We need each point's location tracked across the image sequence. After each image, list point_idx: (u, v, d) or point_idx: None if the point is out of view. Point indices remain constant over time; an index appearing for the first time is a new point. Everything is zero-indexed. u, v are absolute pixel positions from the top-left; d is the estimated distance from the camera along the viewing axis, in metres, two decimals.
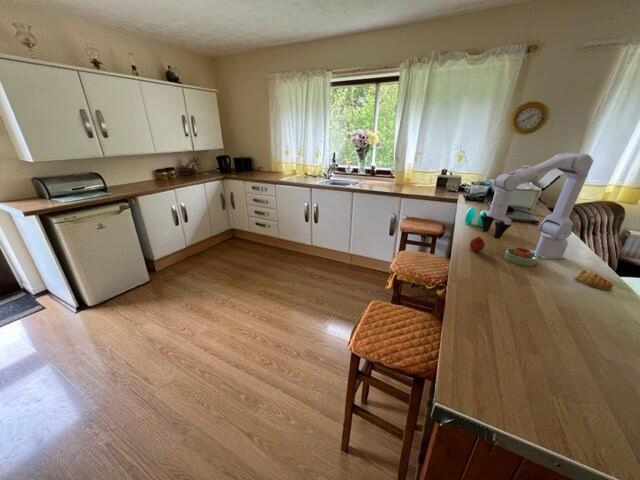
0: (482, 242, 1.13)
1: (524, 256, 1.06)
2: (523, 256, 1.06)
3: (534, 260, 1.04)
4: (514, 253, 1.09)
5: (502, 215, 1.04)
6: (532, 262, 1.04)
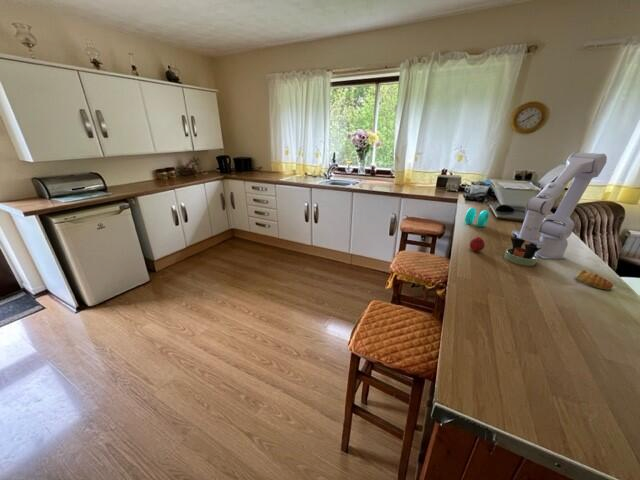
0: (482, 242, 1.13)
1: None
2: (523, 256, 1.06)
3: (534, 260, 1.04)
4: (514, 253, 1.09)
5: (534, 238, 1.03)
6: (532, 262, 1.04)
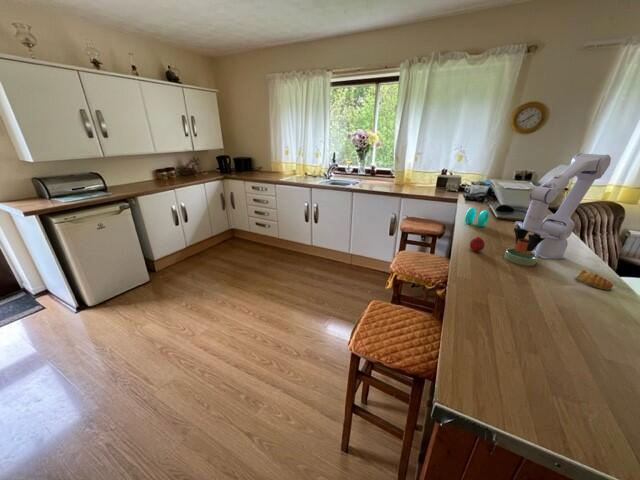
0: (482, 242, 1.13)
1: None
2: (526, 247, 1.04)
3: (534, 260, 1.04)
4: (517, 244, 1.07)
5: (537, 228, 1.01)
6: (532, 262, 1.04)
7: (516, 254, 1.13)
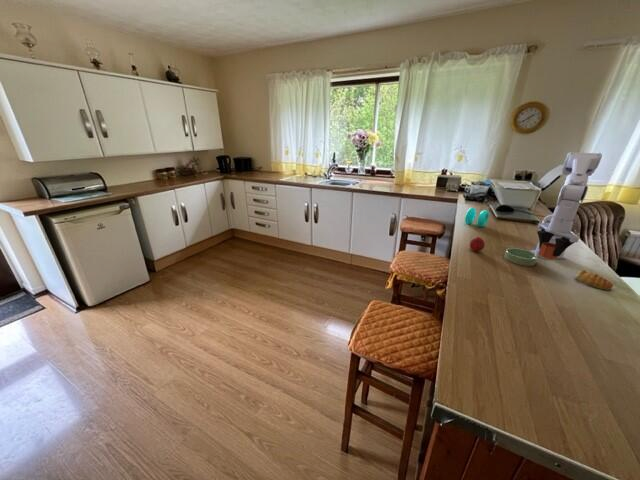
0: (482, 242, 1.13)
1: None
2: (552, 252, 0.94)
3: (534, 260, 1.04)
4: (542, 248, 0.97)
5: (566, 231, 0.91)
6: (532, 262, 1.04)
7: (516, 254, 1.13)
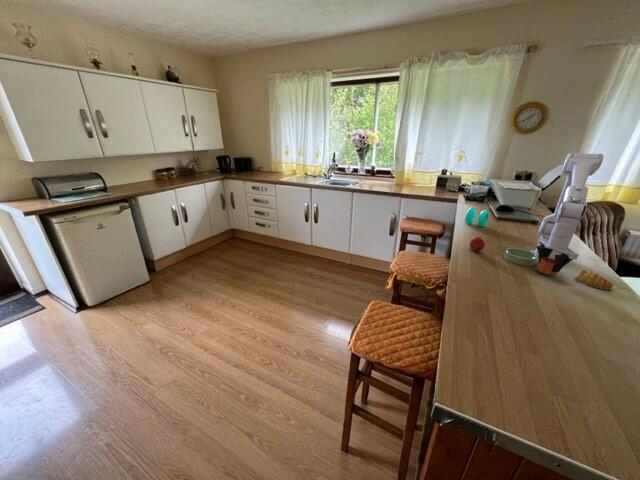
0: (482, 242, 1.13)
1: None
2: (552, 268, 0.95)
3: (534, 260, 1.04)
4: (541, 264, 0.97)
5: (565, 247, 0.91)
6: (532, 262, 1.04)
7: (516, 254, 1.13)
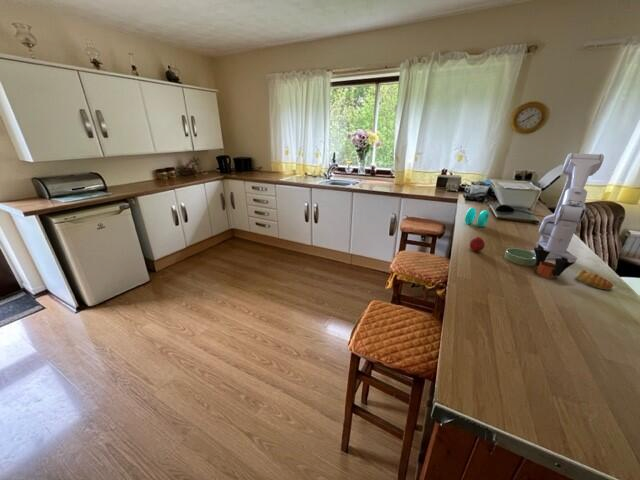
0: (482, 242, 1.13)
1: (551, 272, 0.95)
2: (550, 272, 0.95)
3: (534, 260, 1.04)
4: (539, 268, 0.98)
5: (563, 250, 0.92)
6: (532, 262, 1.04)
7: (516, 254, 1.13)
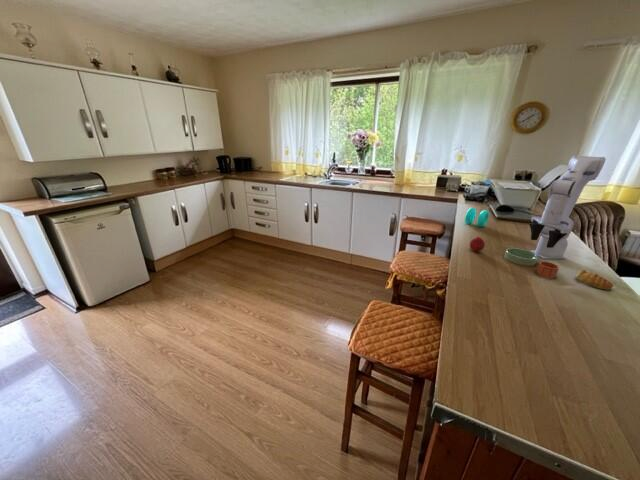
0: (482, 242, 1.13)
1: (551, 272, 0.95)
2: (550, 272, 0.95)
3: (534, 260, 1.04)
4: (539, 268, 0.98)
5: (557, 223, 0.97)
6: (532, 262, 1.04)
7: (516, 254, 1.13)
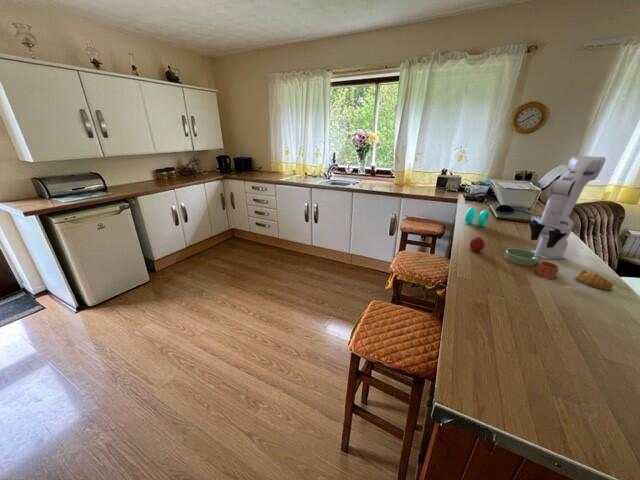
0: (482, 242, 1.13)
1: (551, 272, 0.95)
2: (550, 272, 0.95)
3: (534, 260, 1.04)
4: (539, 268, 0.98)
5: (557, 223, 0.97)
6: (532, 262, 1.04)
7: (516, 254, 1.13)
